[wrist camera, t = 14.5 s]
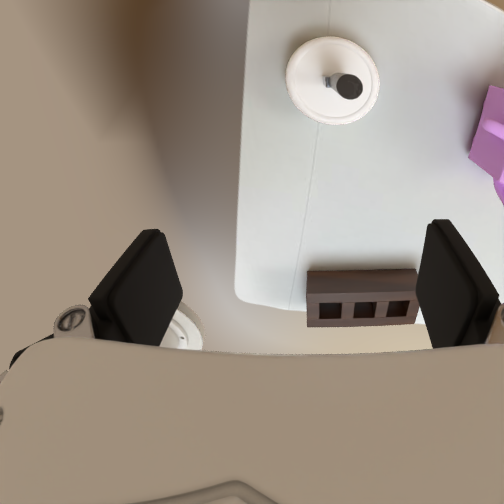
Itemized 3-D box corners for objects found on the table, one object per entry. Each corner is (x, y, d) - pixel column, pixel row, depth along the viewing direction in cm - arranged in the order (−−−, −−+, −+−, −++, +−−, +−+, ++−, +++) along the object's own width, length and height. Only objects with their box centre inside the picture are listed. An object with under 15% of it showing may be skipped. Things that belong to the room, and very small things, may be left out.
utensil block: (408, 301, 46) (414, 324, 41) (308, 304, 49) (307, 327, 45) (415, 268, 42) (424, 290, 38) (307, 271, 45) (306, 293, 41)
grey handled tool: (346, 88, 27) (368, 100, 18) (323, 88, 28) (333, 100, 18) (345, 71, 26) (366, 74, 17) (321, 72, 27) (330, 74, 17)
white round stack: (365, 35, 26) (371, 32, 23) (379, 116, 31) (386, 122, 28) (278, 45, 29) (275, 42, 26) (296, 125, 34) (295, 131, 31)
